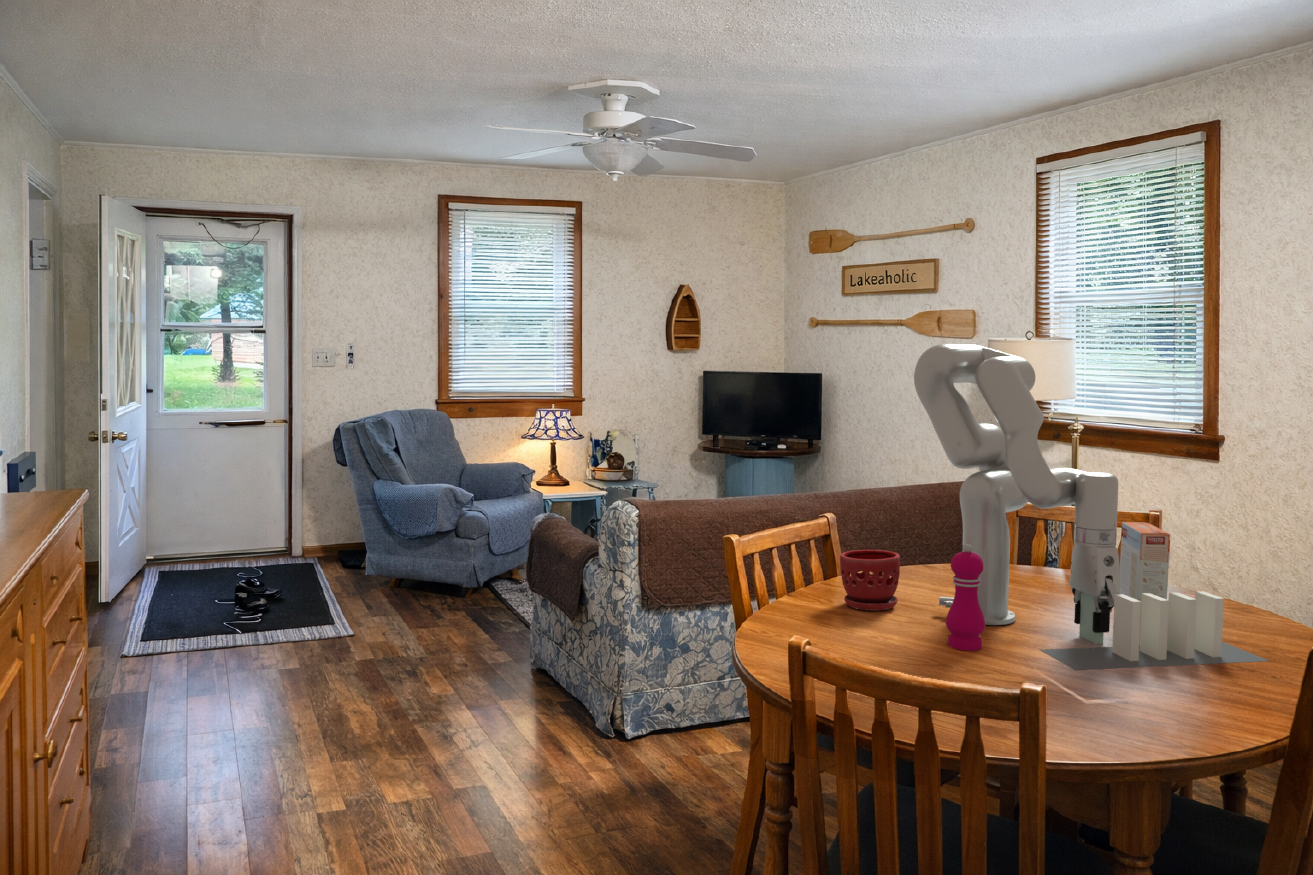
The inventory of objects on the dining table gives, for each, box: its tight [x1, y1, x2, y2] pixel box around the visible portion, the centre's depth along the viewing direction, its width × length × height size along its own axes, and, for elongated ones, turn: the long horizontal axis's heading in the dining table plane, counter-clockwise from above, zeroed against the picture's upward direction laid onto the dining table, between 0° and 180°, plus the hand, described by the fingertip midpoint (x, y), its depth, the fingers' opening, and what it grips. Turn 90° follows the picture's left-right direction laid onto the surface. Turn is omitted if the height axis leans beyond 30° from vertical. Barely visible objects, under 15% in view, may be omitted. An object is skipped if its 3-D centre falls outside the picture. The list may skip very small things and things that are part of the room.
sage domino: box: [1078, 592, 1105, 645], centre depth 191 cm, size 2×6×11 cm, turn 8°
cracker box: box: [1119, 521, 1171, 626], centre depth 201 cm, size 14×6×21 cm, turn 168°
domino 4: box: [1194, 590, 1225, 657], centre depth 182 cm, size 2×6×11 cm, turn 8°
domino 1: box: [1112, 594, 1141, 661], centre depth 180 cm, size 2×6×11 cm, turn 8°
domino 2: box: [1139, 593, 1169, 660], centre depth 181 cm, size 2×6×11 cm, turn 8°
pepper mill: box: [945, 544, 986, 652], centre depth 188 cm, size 7×7×20 cm
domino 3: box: [1167, 591, 1197, 659], centre depth 182 cm, size 2×6×11 cm, turn 8°
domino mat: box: [1040, 641, 1270, 671], centre depth 181 cm, size 38×12×1 cm, turn 98°
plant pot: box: [839, 549, 901, 612], centre depth 218 cm, size 13×13×12 cm
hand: (1091, 626), depth 191 cm, fingers closed on sage domino, 5 cm apart
